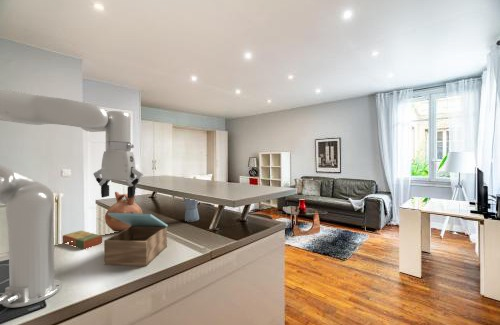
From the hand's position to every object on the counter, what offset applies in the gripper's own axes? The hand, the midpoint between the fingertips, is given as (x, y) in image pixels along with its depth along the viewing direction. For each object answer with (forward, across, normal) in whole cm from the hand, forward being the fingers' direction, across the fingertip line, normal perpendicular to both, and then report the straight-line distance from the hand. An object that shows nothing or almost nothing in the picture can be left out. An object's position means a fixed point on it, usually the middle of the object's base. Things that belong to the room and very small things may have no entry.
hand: (118, 197), depth 81 cm
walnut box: (+26, 0, -13) cm, 29 cm away
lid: (+13, 0, -14) cm, 19 cm away
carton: (+27, +32, -23) cm, 48 cm away
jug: (+26, +26, -45) cm, 58 cm away
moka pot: (+26, -7, -65) cm, 70 cm away
